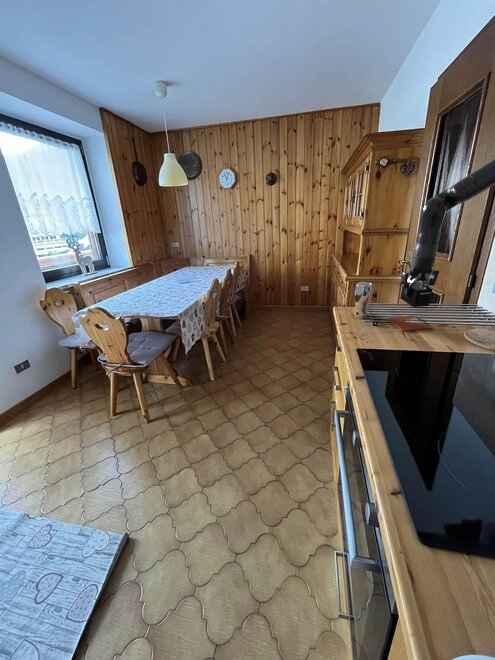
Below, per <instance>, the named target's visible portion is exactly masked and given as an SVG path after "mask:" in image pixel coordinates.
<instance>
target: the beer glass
mask: <svg viewBox="0 0 495 660" xmlns="http://www.w3.org/2000/svg"><path fill="white" fill-rule="evenodd" d="M372 292H373V283H371V282H369V281H359V282H356V284H355V288H354V310H353V316H354V317H355V318H358V319H364V318H367V317H368V307H369V304H370V301H371V298H372Z"/></svg>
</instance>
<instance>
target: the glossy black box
mask: <svg viewBox="0 0 495 660" xmlns="http://www.w3.org/2000/svg"><path fill="white" fill-rule="evenodd" d="M433 290H434V289H433V288H431V287H427V286H425V285H423V283H421V282H420V281H417V282H416V283H415V284H414V285H413V286H412V287H411V293H410V297H408V298H407V297H406V296H405V295H404V293H405V288H404V287H403V286H401V292H400V297H399V299H400V300H401V301H404V302H405V303H406V304H408V305H409V306H411V307H412V308H422V307H429V305H430V302H431V299H432V294H433Z"/></svg>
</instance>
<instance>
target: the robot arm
mask: <svg viewBox="0 0 495 660" xmlns="http://www.w3.org/2000/svg"><path fill="white" fill-rule="evenodd" d="M494 185H495V158H494V159H492V160H491V161H489V162H488V163H486V164H484V165H483V166H481V167H479V168H478V169H476V170H475V171H473V172H471V173H470V174H468V175H467V176H465V177H463V178H462V179H460V180H458V181H457V182H456V183H454V184H453V185H451V186H450V187H448V188H447V189H445V190H442V191H441V192H439V193H438V194H436V195H434V196H433V197H431V198H429V199H428V200H427V201H426V202H425V204H424V205H423V208H422V210H421V211H422V213H421V217H420V226H419V230H418V233H417V238H416V243H415V244H414V245H415V246H414V247H413V248H414V249H413V254H412V257H411V262H410V269H409V270H408V271H401V275H400V276H401V277H400V286H401V287H404V288H405V293H404V295H405V296H406V297H407V298H408V297H410V293H411V287H412V286H413V285H414V284H415V283H416V282H422V284H423V285H425V286H427V287H429V288H431V286H435V285H436V282H437V279H438V277H439V274H440V270H438V269H435V268H434V265H435V261H436V257H437V253H438V247H439V242H440V238H441V232H442V225H443V223H444V219H445V216H446V212H448V211H449V210H452V209H453V208H455V207H457V206H458V205H460V204H463V203H466V202H467V201H470V200H471V199H473V198H475V197H476V196H478V195H480V194H482V193H483V192H485V191H487V190H489V189H490V188H491V187H493V186H494Z"/></svg>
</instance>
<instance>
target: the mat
mask: <svg viewBox="0 0 495 660" xmlns="http://www.w3.org/2000/svg"><path fill="white" fill-rule="evenodd" d="M413 316H414V315H408V316H407V315H405V316H396V317H387V320H388V321H390V322H391V323H392V324H393V325H394V326H396V327H397V329H399V330H400V331H402V332H410V331H420V330H431V329H432V327H431V326H430V325H428V324H427V323H425V322H424V323H410V322H405V321H404V320H406V319H411V318H412V317H413Z"/></svg>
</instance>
